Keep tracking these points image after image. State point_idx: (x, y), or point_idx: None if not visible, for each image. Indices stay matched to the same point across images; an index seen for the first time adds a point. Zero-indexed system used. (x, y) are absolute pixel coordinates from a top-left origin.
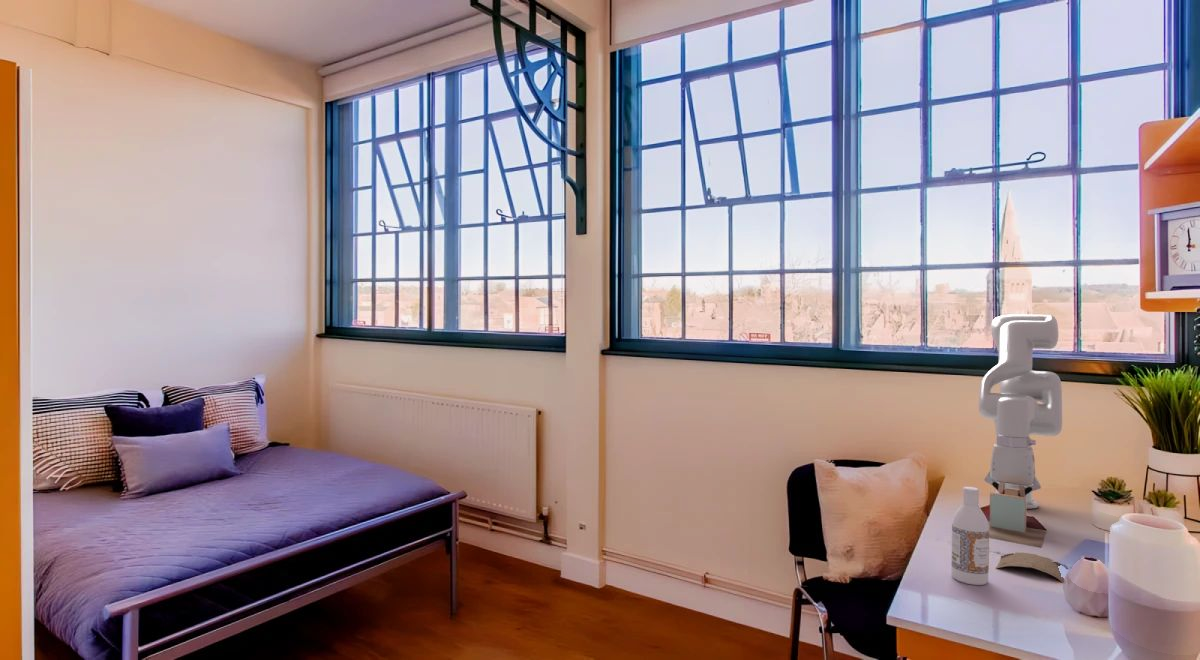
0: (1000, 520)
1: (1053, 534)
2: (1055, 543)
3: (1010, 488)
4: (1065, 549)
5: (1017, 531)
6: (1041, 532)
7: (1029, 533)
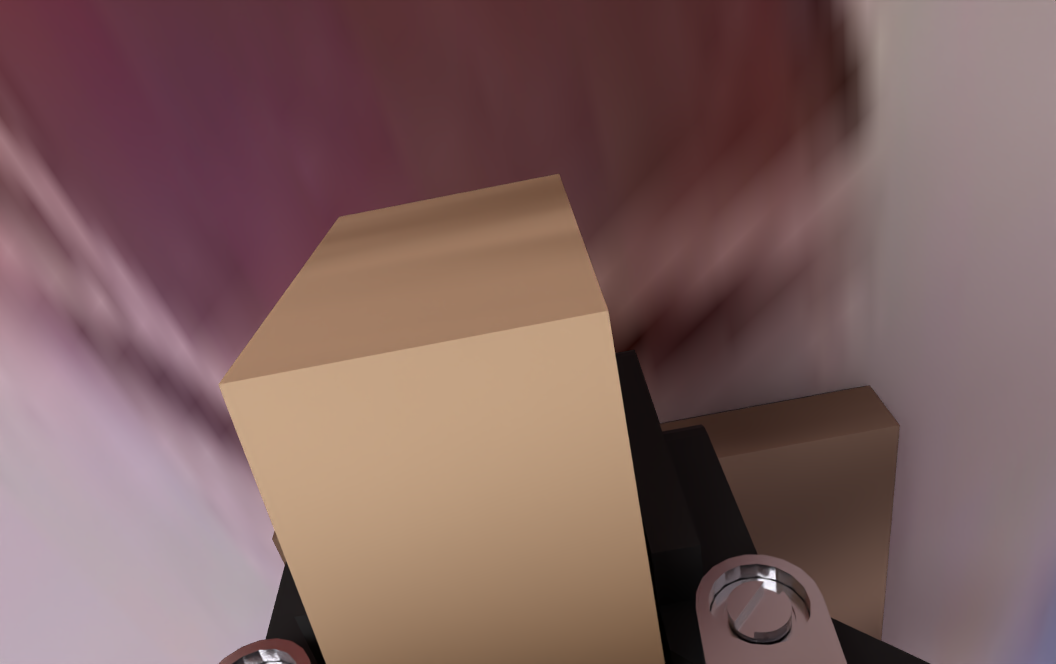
0: None
1: (946, 236)
2: (947, 510)
3: (381, 534)
4: (1010, 588)
5: None
6: (858, 509)
7: None
